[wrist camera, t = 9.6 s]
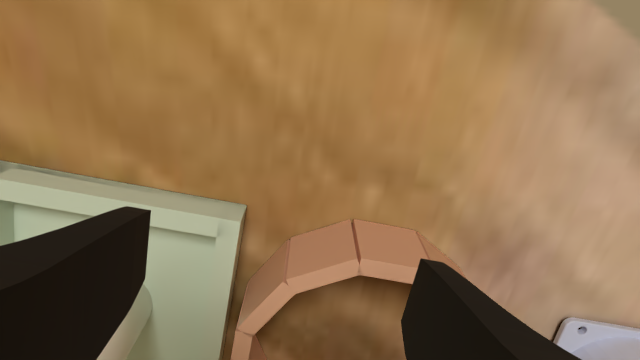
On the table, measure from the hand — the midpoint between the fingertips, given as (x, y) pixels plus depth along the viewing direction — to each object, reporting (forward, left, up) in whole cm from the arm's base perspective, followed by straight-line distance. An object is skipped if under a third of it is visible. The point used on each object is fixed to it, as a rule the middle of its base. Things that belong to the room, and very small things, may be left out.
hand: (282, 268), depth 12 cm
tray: (+8, +10, -10) cm, 16 cm away
